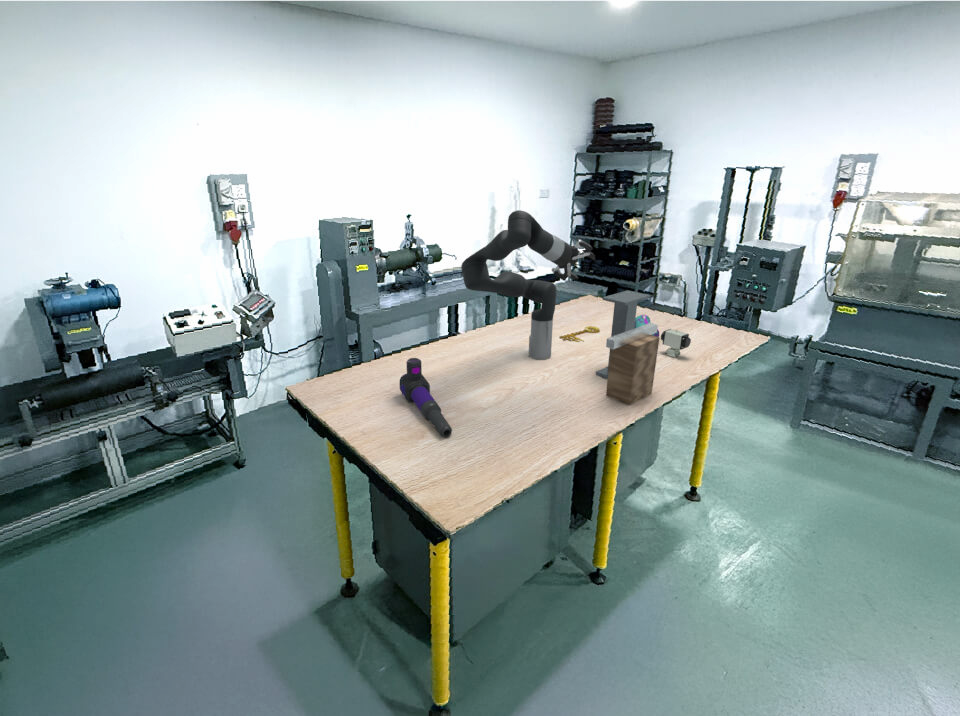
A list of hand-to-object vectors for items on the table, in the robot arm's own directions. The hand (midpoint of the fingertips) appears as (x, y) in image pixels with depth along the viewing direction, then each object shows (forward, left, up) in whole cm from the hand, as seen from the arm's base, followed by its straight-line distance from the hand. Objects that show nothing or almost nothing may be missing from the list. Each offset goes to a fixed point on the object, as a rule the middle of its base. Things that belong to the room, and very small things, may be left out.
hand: (584, 267), depth 168 cm
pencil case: (+21, +69, -46) cm, 86 cm away
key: (-7, +62, -47) cm, 78 cm away
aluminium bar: (+18, 0, -24) cm, 30 cm away
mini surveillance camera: (+35, +48, -46) cm, 75 cm away
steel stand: (+14, +20, -46) cm, 52 cm away
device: (-45, -36, -46) cm, 74 cm away
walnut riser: (+19, +2, -46) cm, 50 cm away
